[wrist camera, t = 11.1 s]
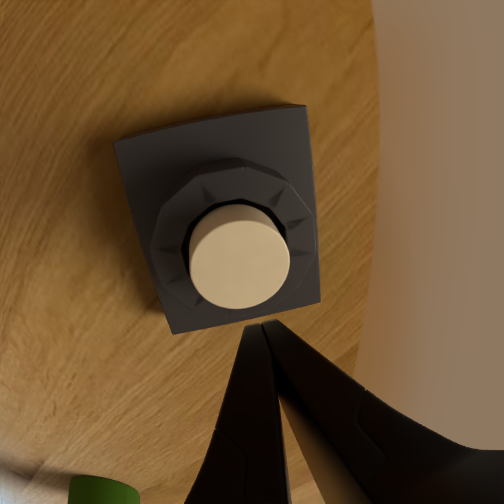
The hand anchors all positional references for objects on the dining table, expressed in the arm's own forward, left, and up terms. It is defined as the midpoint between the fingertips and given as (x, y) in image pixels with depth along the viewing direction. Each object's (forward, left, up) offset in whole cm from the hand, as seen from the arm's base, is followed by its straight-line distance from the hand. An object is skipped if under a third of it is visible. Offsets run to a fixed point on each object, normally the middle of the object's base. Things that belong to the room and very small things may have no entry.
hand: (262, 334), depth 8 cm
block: (0, 0, -8) cm, 8 cm away
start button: (0, 0, -5) cm, 5 cm away
